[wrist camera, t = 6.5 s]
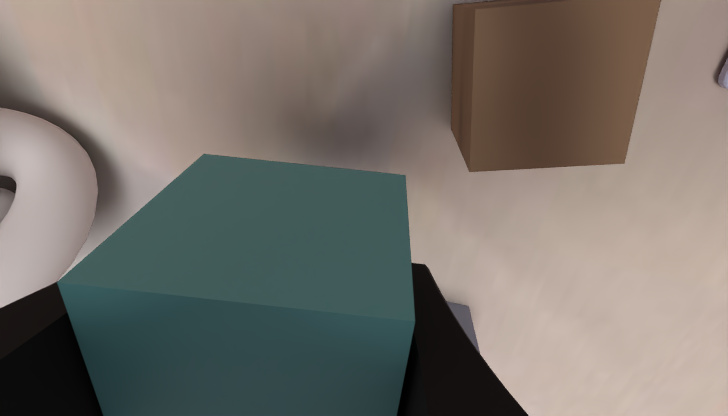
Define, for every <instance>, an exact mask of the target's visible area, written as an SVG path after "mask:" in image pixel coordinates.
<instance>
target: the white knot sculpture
mask: <svg viewBox="0 0 728 416" xmlns="http://www.w3.org/2000/svg"><path fill="white" fill-rule="evenodd" d="M0 175H2V176H9V177H11V178H13V179H14V180H15V182H16V184H17V189H16V193H13V192H11V191H10V190H7V189H4V188H0V308H1V307H4V306H6V305H8V304H10V303H12V302H14V301H17V300H19V299H21V298H23V297H25V296H27V295H29V294H32V293H34V292H36V291H38V290H40V289H42V288H45V287H47V286H49V285H51V284H53V283H55V282H57V281H58V280H59V279H60V277H61V276H62V275H63V274H64V273H65V271H66V270H67V269H68V268H69V267H70V266H71V264H72V263H73V261H74V260H75V258H76V256H77V255H78V253H79V251H80V250H81V248H82V246H83V245H84V243H85V241H86V239H87V236H88V234H89V231H90V228H91V226H92V223H93V220H94V217H95V210H96V203H97V195H98V187H97V179H96V171H95V169H94V167H93V165H92V162H91V160H90V158H89V155H88V154H87V152H86V151H85V150H84V149H83V148H82V146H81V145H80V144H79V143H78V141H77V140H76V139H75V138H73V137H72V136H71V135H69V134H68V133H67V132H65V131H64V130H63V129H61V128H60V127H58V126H56V125H54V124H52V123H50V122H48V121H46V120H44V119H42V118H39V117H36V116H33V115H30V114H27V113H24V112H20V111H16V110H11V109H7V108H0Z"/></svg>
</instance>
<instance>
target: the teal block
mask: <svg viewBox="0 0 728 416" xmlns="http://www.w3.org/2000/svg"><path fill="white" fill-rule="evenodd" d="M57 284H58V287H59V289H60V292H61V295H62V298H63V301H64V304H65V307H66V310H67V312H68V315H69V318H70V321H71V324H72V327H73V330H74V333H75V335H76V338H77V341H78V344H79V347H80V350H81V353H82V356H83V358H84V361H85V364H86V367H87V370H88V373H89V376H90V378H91V381H92V384H93V387H94V390H95V393H96V396H97V399H98V401H99V404H100V407H101V410H102V413H103V416H397V412H398V406H399V401H400V396H401V391H402V386H403V381H404V376H405V371H406V366H407V361H408V356H409V351H410V345H411V340H412V335H413V330H414V325H415V311H414V296H413V281H412V266H411V251H410V236H409V221H408V206H407V191H406V176H405V175H400V174H390V173H381V172H371V171H362V170H352V169H343V168H333V167H323V166H314V165H304V164H295V163H285V162H276V161H266V160H256V159H247V158H237V157H228V156H218V155H209V154H203V155H202V156H201V157H200V158H199V159H198V160H196V161H195V162H194V163H193V164H192V165H191V166H190V167H188V168H187V169H186V170H185V171H184V172H183V173H182V174H180V175H179V176H178V177H177V178H176V179H175V180H174V181H172V182H171V183H170V184H169V185H168V186H167V187H166V188H164V189H163V190H162V191H161V192H160V193H159V194H157V195H156V196H155V197H154V198H153V199H152V200H151V201H149V202H148V203H147V204H146V205H145V206H144V207H143V208H141V209H140V210H139V211H138V212H137V213H136V214H135V215H133V216H132V217H131V218H130V219H129V220H128V221H127V222H125V223H124V224H123V225H122V226H121V227H120V228H119V229H117V230H116V231H115V232H114V233H113V234H112V235H111V236H109V237H108V238H107V239H106V240H105V241H104V242H103V243H101V244H100V245H99V246H98V247H97V248H96V249H94V250H93V251H92V252H91V253H90V254H89V255H88V256H86V257H85V258H84V259H83V260H82V261H81V262H80V263H78V264H77V265H76V266H75V267H74V268H73V269H72V270H70V271H69V272H68V273H67V274H66V275H65V276H64V277H62V278H61V279H60V280H59V281H58V282H57Z"/></svg>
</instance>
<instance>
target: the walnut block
mask: <svg viewBox="0 0 728 416" xmlns="http://www.w3.org/2000/svg"><path fill="white" fill-rule="evenodd" d="M660 2H661V0H496V1H485V2H475V3H464V4H453V29H452V109H451V130H452V132H453V134H454V137H455V139H456V141H457V144H458V146H459V148H460V151H461V153H462V155H463V158H464V160H465V163H466V165H467V167H468V170H469V172H478V171H496V170H514V169H532V168H550V167H568V166H587V165H605V164H623V163H625V159H626V154H627V150H628V145H629V141H630V136H631V132H632V127H633V123H634V118H635V114H636V109H637V105H638V101H639V96H640V92H641V87H642V83H643V78H644V74H645V69H646V65H647V60H648V56H649V51H650V47H651V43H652V38H653V34H654V29H655V25H656V20H657V16H658V11H659V7H660Z"/></svg>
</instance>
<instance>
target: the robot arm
mask: <svg viewBox="0 0 728 416" xmlns="http://www.w3.org/2000/svg"><path fill="white" fill-rule="evenodd" d="M718 82H719V85H720V86H721V87H723V88H726V89H728V58H727V60H726V62H725V64H724V66H723V68H722V70H721V73H720V75H719V78H718ZM411 266H412V281H413V296H414V311H415V325H414V330H413V335H412V340H411V345H410V351H409V356H408V361H407V366H406V371H405V376H404V381H403V386H402V391H401V396H400V401H399V406H398V412H397V416H528V414H527V413H526V412H525V411H524V410H523V408H522V407H521V406H520V405H519V404H518V402H517V401H516V400H515V399H514V398H513V397H512V395H511V394H510V393H509V392H508V390H507V389H506V388H505V387H504V385H503V384H502V383H501V382H500V380H499V379H498V378H497V376H496V375H495V374H494V372H493V371H492V370H491V368H490V367H489V366H488V364H487V363H486V362H485V360H484V359H483V357H482V356H481V355H480V353H479V352H478V351H477V349H476V348H475V346H474V345H473V343H472V342H471V340H470V339H469V337H468V336H467V334H466V333H465V331H464V330H463V328H462V326H461V325H460V323H459V322H458V320H457V319H456V317H455V316H454V314H453V312H452V311H451V309H450V307H449V306H448V304H447V302H446V300H445V299H444V297H443V295H442V293H441V292H440V290H439V288H438V286H437V284H436V282H435V280H434V278H433V276H432V275H431V272H430V270H429V269H428V267H427V266H426V265H425V264H416V263H411ZM57 282H58V281H57ZM57 282H55V283H53V284H51V285H49V286H47V287H45V288H42V289H40V290H38V291H36V292H34V293H32V294H29V295H27V296H25V297H23V298H21V299H19V300H17V301H14V302H12V303H10V304H8V305H6V306H4V307H1V308H0V416H103V413H102V410H101V407H100V404H99V401H98V399H97V396H96V393H95V390H94V387H93V384H92V381H91V378H90V376H89V373H88V370H87V367H86V364H85V361H84V358H83V356H82V353H81V350H80V347H79V344H78V341H77V338H76V335H75V333H74V330H73V327H72V324H71V321H70V318H69V315H68V312H67V310H66V307H65V304H64V301H63V298H62V295H61V292H60V289H59V287H58V284H57Z"/></svg>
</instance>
